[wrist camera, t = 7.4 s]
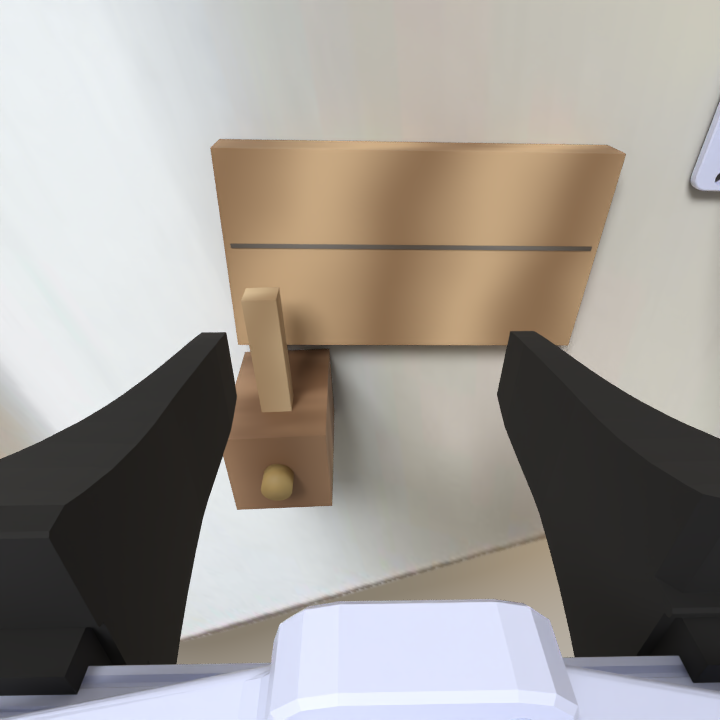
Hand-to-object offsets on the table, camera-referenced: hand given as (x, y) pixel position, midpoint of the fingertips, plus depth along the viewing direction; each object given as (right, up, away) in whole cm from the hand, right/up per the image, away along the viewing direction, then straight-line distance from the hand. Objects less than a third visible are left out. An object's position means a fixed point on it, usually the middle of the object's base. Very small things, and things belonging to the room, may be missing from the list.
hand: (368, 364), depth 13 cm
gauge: (-4, +1, +10) cm, 11 cm away
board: (+2, +5, +8) cm, 10 cm away
